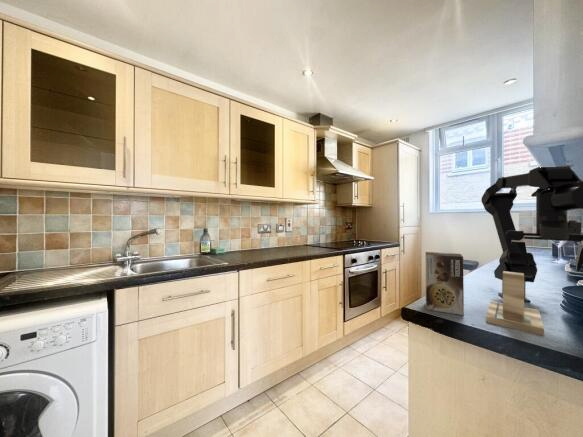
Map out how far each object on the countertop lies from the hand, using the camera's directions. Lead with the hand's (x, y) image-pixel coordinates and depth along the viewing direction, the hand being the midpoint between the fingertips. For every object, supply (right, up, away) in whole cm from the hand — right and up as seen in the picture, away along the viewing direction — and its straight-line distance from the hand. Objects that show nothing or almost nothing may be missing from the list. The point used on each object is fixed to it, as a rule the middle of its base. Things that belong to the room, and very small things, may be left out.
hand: (551, 268), depth 64 cm
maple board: (-13, -13, -2) cm, 18 cm away
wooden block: (-16, -11, -5) cm, 20 cm away
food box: (-27, -13, +4) cm, 30 cm away
